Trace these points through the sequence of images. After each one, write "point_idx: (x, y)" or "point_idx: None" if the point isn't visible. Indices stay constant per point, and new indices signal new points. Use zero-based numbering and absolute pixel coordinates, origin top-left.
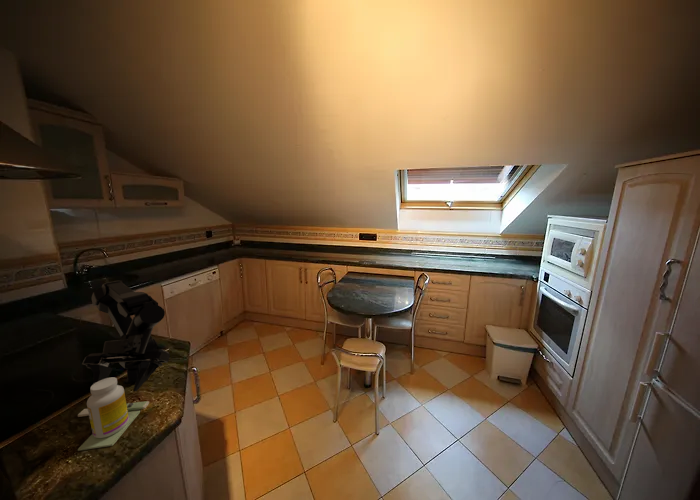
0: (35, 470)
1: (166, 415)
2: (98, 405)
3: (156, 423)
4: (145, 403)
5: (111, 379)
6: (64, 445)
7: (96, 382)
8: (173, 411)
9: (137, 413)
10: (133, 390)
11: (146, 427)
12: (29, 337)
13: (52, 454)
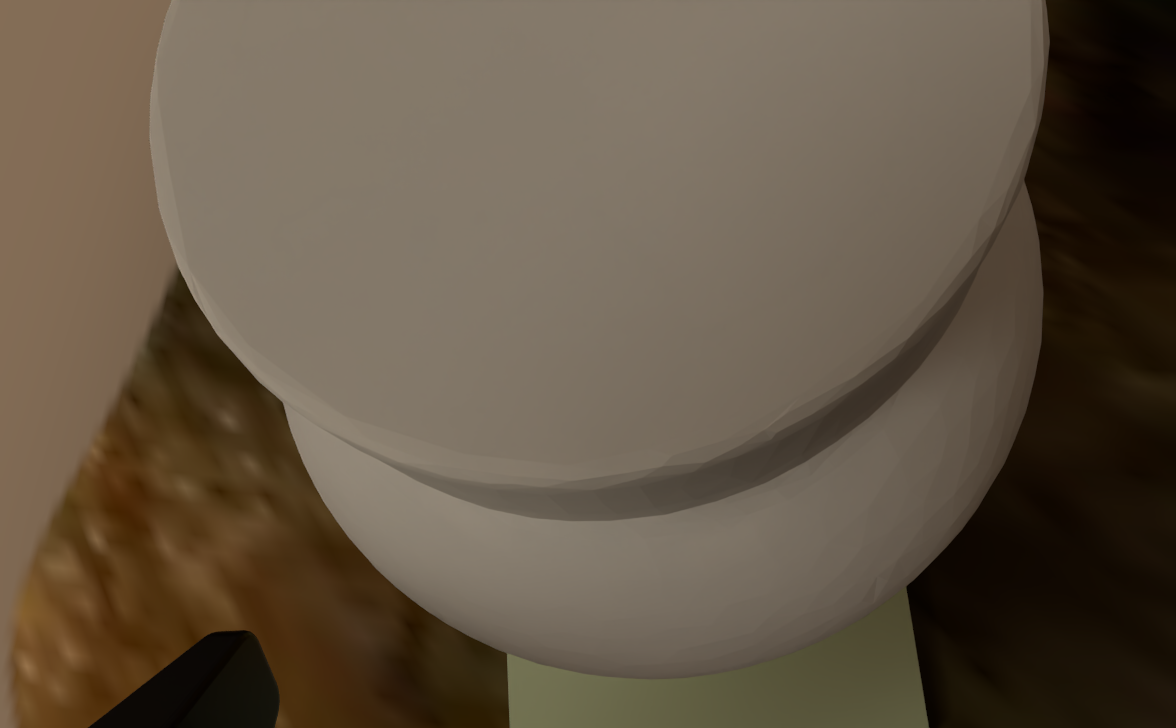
0: (1073, 8)
1: (125, 637)
2: None
3: (188, 512)
4: None
5: (429, 297)
6: (1097, 268)
7: (1005, 76)
8: (64, 703)
9: (511, 699)
10: (241, 633)
11: (274, 461)
12: None
13: (1107, 163)
